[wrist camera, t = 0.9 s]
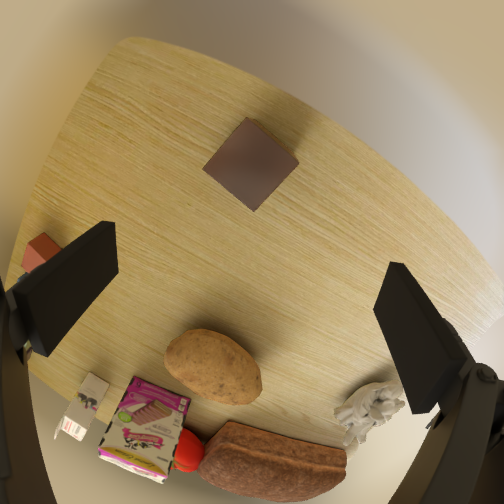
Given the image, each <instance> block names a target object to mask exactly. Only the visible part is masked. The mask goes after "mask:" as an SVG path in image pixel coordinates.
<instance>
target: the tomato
mask: <svg viewBox="0 0 504 504" xmlns="http://www.w3.org/2000/svg"><path fill="white" fill-rule="evenodd" d="M204 454H205V449H204V446H203V444H202V442H201V441H200V440H199V439H198V438H197V437H196V435H194V434H193V433H192V432H190V431H189V430H186V429H184V428H182V432H181V435H180V438H179V442H178V445H177V448H176V452H175V455H174V458H173V462H172V465H171V469H175V468H178V469H180V470H181V471H184V472H192V471H195V470H197V469H198V465H199V463H200V462H201V460H202V459H203V457H204Z"/></svg>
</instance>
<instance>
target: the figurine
mask: <svg viewBox="0 0 504 504" xmlns="http://www.w3.org/2000/svg"><path fill="white" fill-rule="evenodd" d="M402 393H403V386H402V384H401V383H400V381H399V380H391V381H387V382H382V383H377V382H373V383H370V384H367V385H365V386H363V387H361V388H359V389H357V390H356V392H355V393H354V394H353V395H352V396H351V397H350V398H349V399H348V400H346V401H345V403H344V404H343V405H342V406H340V407H338V408H335V409H334V416H335V418H336V419H340V426H342V425H345V426H347V428H348V430H347V432H346V434H345V436H344V438H343V444H344V445H345V446H348V445H350V443H351V442H352V441H353V439H354V438H355V436H356V438H357V440H358V442H359V443H360V444H361V443H363V442H365V441H366V433H367V432H368V431H369V430H370V428H371V427H372V426H374V427H377V426H380V425H382V424H384V423H385V422H386V421H388V420H390V419H391V417H392V415H393V414H395V413H396V412H398V410H400V408H402V407H403V406H404V405H405V402H404V401H400V400H399V399H397V398H398V397H399V396H400V395H401V394H402Z"/></svg>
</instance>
